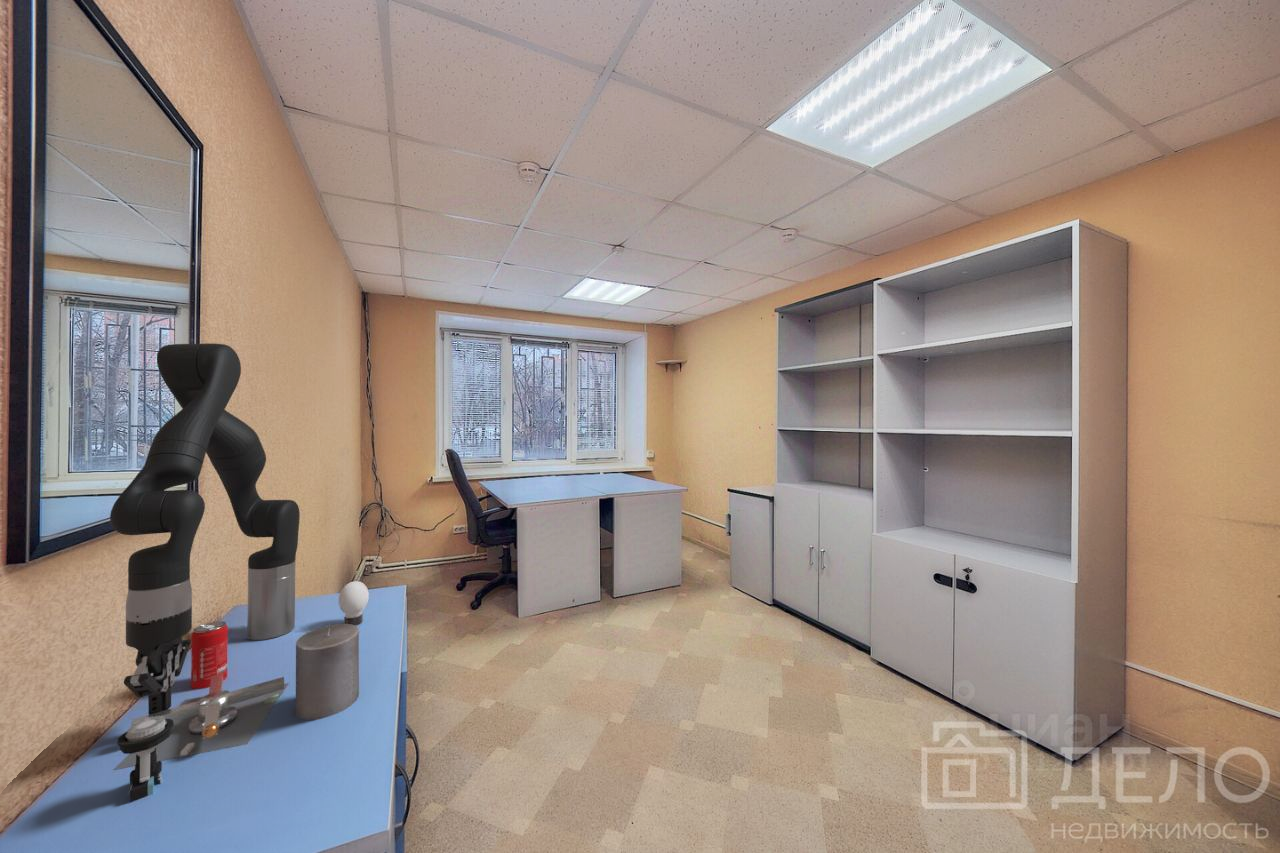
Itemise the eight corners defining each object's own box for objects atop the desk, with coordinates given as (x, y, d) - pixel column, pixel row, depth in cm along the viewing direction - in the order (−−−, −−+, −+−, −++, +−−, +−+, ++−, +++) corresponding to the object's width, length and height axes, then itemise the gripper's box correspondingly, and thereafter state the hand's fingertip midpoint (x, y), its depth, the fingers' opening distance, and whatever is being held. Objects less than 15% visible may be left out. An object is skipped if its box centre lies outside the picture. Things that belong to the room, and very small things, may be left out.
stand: (185, 705, 83) (185, 696, 83) (289, 687, 89) (289, 679, 89) (112, 776, 66) (113, 765, 66) (247, 749, 72) (247, 739, 72)
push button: (121, 787, 64) (122, 718, 64) (174, 768, 68) (175, 703, 68) (113, 817, 59) (114, 742, 59) (171, 794, 63) (172, 724, 63)
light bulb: (340, 631, 113) (341, 588, 113) (336, 622, 118) (336, 581, 118) (371, 624, 117) (371, 582, 117) (365, 615, 122) (366, 575, 122)
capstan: (142, 715, 78) (143, 693, 78) (281, 676, 91) (281, 657, 91) (117, 784, 64) (118, 756, 64) (287, 726, 76) (287, 703, 76)
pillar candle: (317, 693, 87) (316, 617, 87) (369, 691, 88) (369, 616, 88) (281, 727, 77) (281, 642, 77) (340, 724, 78) (340, 640, 78)
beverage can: (204, 695, 86) (205, 633, 86) (183, 692, 87) (184, 630, 87) (233, 680, 91) (234, 622, 91) (214, 677, 92) (214, 619, 92)
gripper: (156, 597, 79) (156, 693, 80) (98, 631, 67) (98, 744, 67) (210, 592, 82) (209, 685, 82) (164, 624, 70) (164, 733, 70)
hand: (159, 711), depth 75 cm, fingers closed
